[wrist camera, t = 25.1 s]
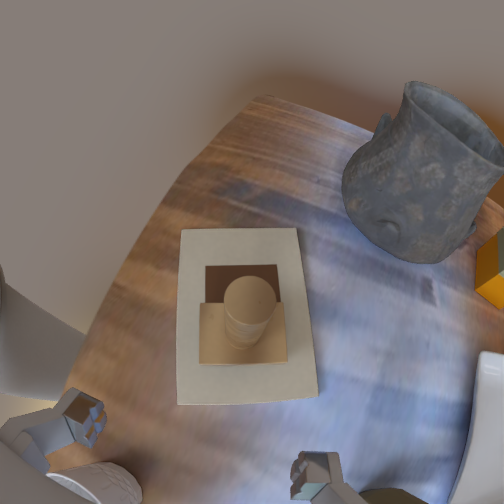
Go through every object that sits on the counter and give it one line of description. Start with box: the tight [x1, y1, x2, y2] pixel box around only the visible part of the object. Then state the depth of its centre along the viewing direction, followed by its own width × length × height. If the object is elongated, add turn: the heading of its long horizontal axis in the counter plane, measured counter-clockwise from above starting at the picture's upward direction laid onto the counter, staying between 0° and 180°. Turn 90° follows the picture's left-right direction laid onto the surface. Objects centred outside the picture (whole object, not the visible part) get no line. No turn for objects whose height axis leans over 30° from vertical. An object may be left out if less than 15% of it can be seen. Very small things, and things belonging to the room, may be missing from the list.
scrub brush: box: [199, 276, 288, 366], centre depth 21 cm, size 8×6×13 cm
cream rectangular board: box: [176, 228, 319, 405], centre depth 29 cm, size 14×20×1 cm
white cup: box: [46, 462, 143, 504], centre depth 14 cm, size 8×8×10 cm
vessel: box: [342, 81, 504, 264], centre depth 29 cm, size 22×22×20 cm
